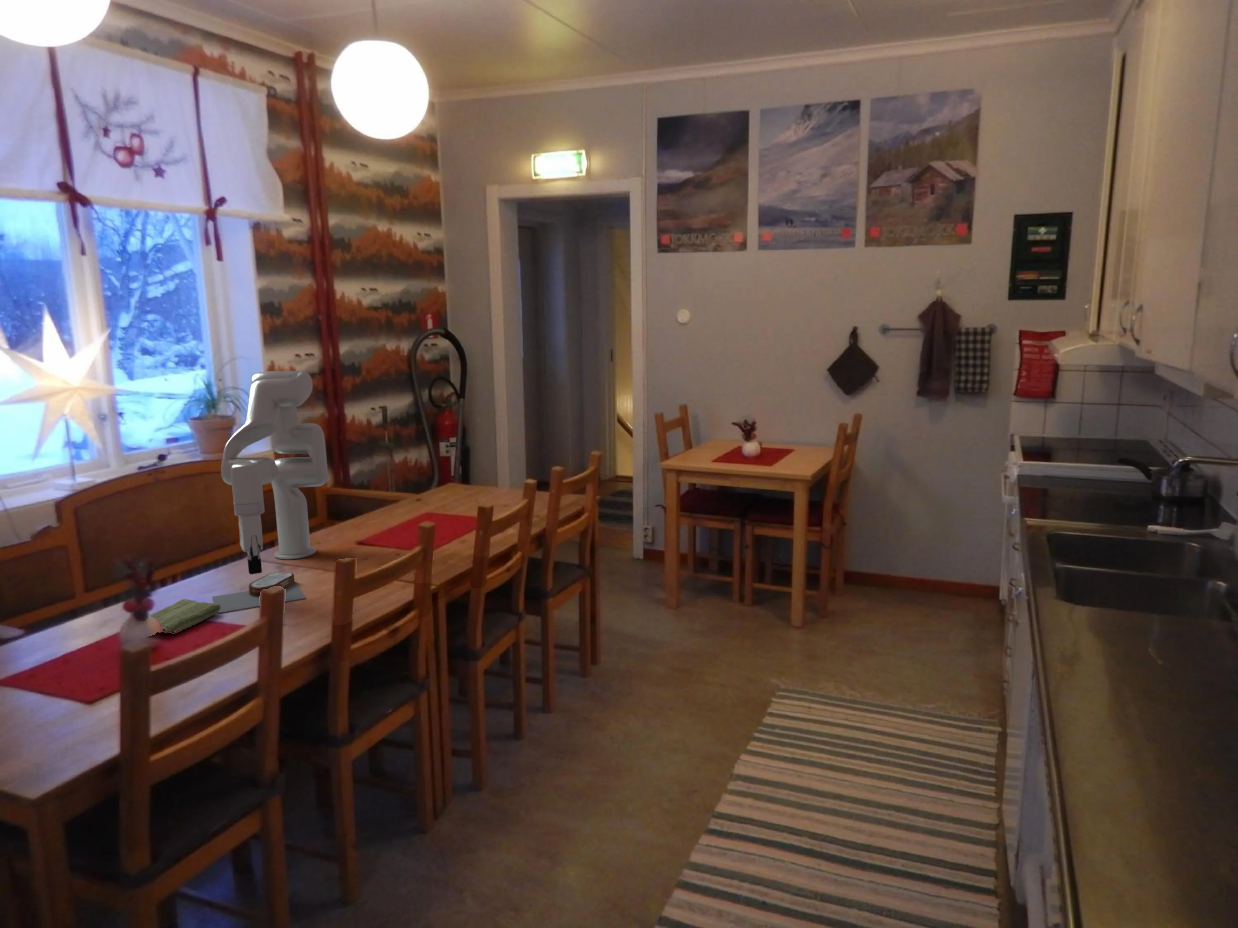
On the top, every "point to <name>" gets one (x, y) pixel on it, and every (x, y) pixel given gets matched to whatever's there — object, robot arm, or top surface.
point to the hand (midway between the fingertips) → (255, 572)
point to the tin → (271, 582)
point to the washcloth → (184, 614)
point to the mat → (251, 599)
